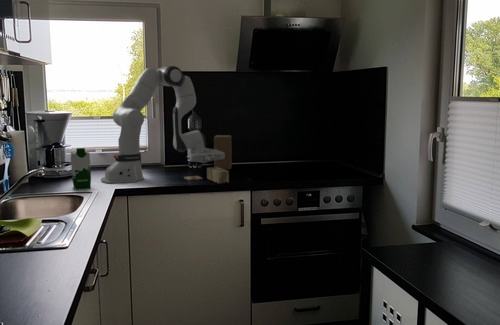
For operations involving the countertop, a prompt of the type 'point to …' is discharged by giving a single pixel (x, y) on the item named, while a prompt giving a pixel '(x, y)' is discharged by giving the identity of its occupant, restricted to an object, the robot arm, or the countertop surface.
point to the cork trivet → (193, 178)
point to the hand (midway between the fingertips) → (212, 158)
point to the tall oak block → (217, 175)
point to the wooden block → (225, 146)
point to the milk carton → (81, 169)
